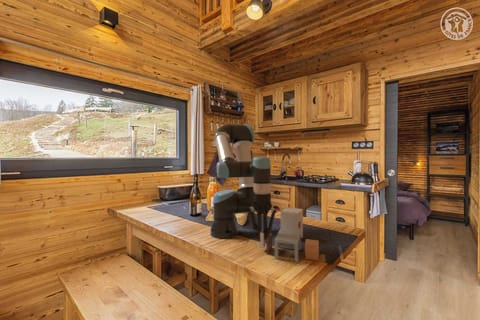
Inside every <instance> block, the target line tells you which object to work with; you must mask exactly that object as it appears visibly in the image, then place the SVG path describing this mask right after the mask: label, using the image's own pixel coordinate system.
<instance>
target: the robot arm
mask: <svg viewBox="0 0 480 320" xmlns="http://www.w3.org/2000/svg"><path fill="white" fill-rule="evenodd" d="M213 142H214V144H215V146H216V150H217V155H218V160H219V161H218V162H217V163H216V175H217V178H219V179H234V178H238V188H237V189H236V191H235V190H234V189H223V190H220V191H217V192H215V193H214V194H213V196H212V197H213V199H212V204H213V205H212V206H213V209H212V210H213V220H212V224H211V227H210V236H211V237H212V238H217V239H229V238H234V237H236V236H237V235H239V227H238V224H237V221H236V217H235V216H236V214H237V215H238V214H239V215H240V214H250V219H251V223H252V227H253V230H254V231H256V232H257V239H258V240H260V241H259V243H260V248H262V249H264V248H266V247H265V246H266V238H267V237H268V232H269V233H271V231H272V229H273V225H274V221H275V215H276V213H277V212H278V209H277V208H274V207H273V204H272V194H271V191H272V189H271V188H272V184H271V183H272V179H271V176H272V173H271V170H272V169H271V167H272V163H271V158H270V157H267V156H257V157H253V158H252V153H251V152H252V151H251V147H252V146H253V143H254V142H255V132H254V127H253V126H252V125H250V124H245V123H243V124H231V123H228V124H223V125H221V126H219V127H218V128H217V129H216V130H215V131H214V134H213ZM231 144H232V145H233V146H231ZM232 147H233V148H235V152H236V159H235V155H234V153H233V149H232ZM269 212H270V214H271V215H270V218H269V221H268V215H269V214H268V213H269ZM255 213H256V214H255ZM256 216H257V218H256ZM262 219H263V221H262ZM262 222H263V223H262ZM262 224H263V225H262ZM262 226H263V227H262Z"/></svg>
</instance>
